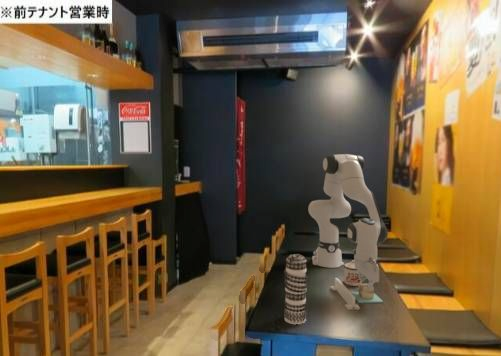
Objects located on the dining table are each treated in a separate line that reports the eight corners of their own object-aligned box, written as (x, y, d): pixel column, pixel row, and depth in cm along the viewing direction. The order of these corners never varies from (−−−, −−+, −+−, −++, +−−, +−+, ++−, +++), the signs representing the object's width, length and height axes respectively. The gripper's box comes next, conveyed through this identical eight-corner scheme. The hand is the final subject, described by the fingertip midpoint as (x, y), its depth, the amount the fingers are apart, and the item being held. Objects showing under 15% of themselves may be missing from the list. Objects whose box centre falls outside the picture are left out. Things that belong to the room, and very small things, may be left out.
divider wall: (331, 288, 163) (331, 278, 163) (341, 288, 163) (341, 277, 163) (347, 309, 139) (348, 297, 139) (359, 309, 139) (359, 297, 139)
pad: (349, 293, 157) (349, 291, 157) (372, 293, 158) (372, 291, 158) (358, 302, 146) (358, 301, 146) (383, 302, 147) (383, 301, 147)
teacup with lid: (344, 285, 167) (344, 262, 166) (343, 279, 175) (343, 257, 175) (369, 287, 164) (370, 264, 164) (367, 281, 173) (367, 259, 173)
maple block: (358, 294, 154) (358, 283, 154) (369, 294, 154) (369, 283, 154) (362, 298, 149) (362, 287, 149) (373, 298, 149) (373, 287, 149)
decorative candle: (291, 311, 137) (292, 251, 135) (311, 318, 131) (312, 255, 130) (278, 319, 129) (279, 255, 128) (299, 327, 124) (300, 260, 123)
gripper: (383, 261, 141) (382, 294, 142) (364, 248, 161) (364, 276, 162) (369, 262, 141) (367, 294, 142) (352, 248, 161) (351, 276, 162)
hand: (365, 284), depth 152 cm, fingers open, 8 cm apart
